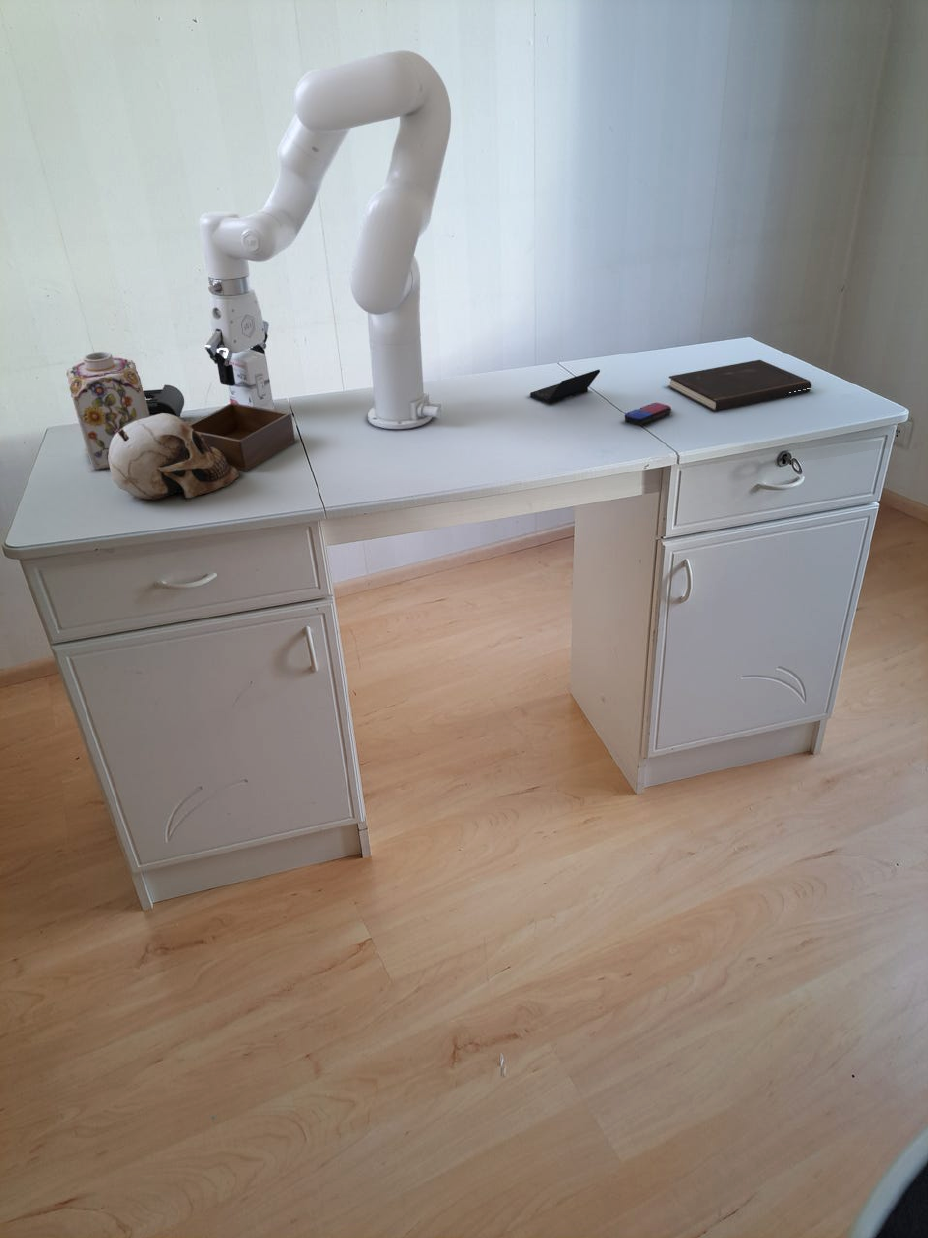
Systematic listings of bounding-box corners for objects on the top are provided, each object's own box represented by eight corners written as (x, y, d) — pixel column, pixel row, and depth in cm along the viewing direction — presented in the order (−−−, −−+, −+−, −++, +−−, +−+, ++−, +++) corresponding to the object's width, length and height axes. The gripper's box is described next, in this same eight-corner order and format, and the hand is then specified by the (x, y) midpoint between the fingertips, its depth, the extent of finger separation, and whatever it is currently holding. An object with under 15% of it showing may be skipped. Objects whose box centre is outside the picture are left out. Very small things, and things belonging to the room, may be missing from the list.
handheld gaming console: (559, 374, 181) (581, 344, 173) (581, 400, 181) (605, 370, 172) (524, 397, 176) (546, 367, 167) (548, 423, 175) (571, 394, 167)
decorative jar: (88, 447, 161) (60, 350, 150) (152, 436, 164) (129, 341, 154) (92, 472, 152) (62, 370, 141) (161, 459, 155) (136, 360, 145)
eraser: (657, 408, 169) (658, 399, 168) (674, 413, 166) (675, 404, 166) (620, 422, 163) (621, 413, 162) (637, 428, 160) (638, 419, 159)
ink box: (230, 410, 174) (219, 352, 168) (250, 403, 177) (240, 346, 171) (256, 420, 169) (245, 360, 163) (276, 413, 172) (267, 354, 166)
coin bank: (247, 471, 149) (225, 399, 141) (183, 525, 138) (155, 450, 129) (177, 461, 155) (152, 391, 147) (110, 511, 144) (79, 439, 135)
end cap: (181, 435, 164) (173, 400, 161) (142, 438, 164) (134, 403, 160) (188, 416, 173) (180, 382, 169) (151, 418, 172) (143, 385, 168)
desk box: (295, 441, 160) (291, 413, 157) (246, 471, 150) (240, 441, 147) (236, 430, 166) (231, 402, 163) (185, 458, 155) (179, 429, 152)
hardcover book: (667, 387, 178) (668, 376, 177) (757, 369, 186) (759, 359, 184) (715, 412, 166) (716, 401, 165) (810, 393, 173) (812, 381, 172)
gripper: (215, 299, 152) (230, 393, 162) (275, 277, 165) (286, 366, 174) (182, 294, 155) (199, 387, 164) (244, 273, 167) (256, 361, 177)
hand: (244, 376), depth 169 cm, fingers open, 9 cm apart
